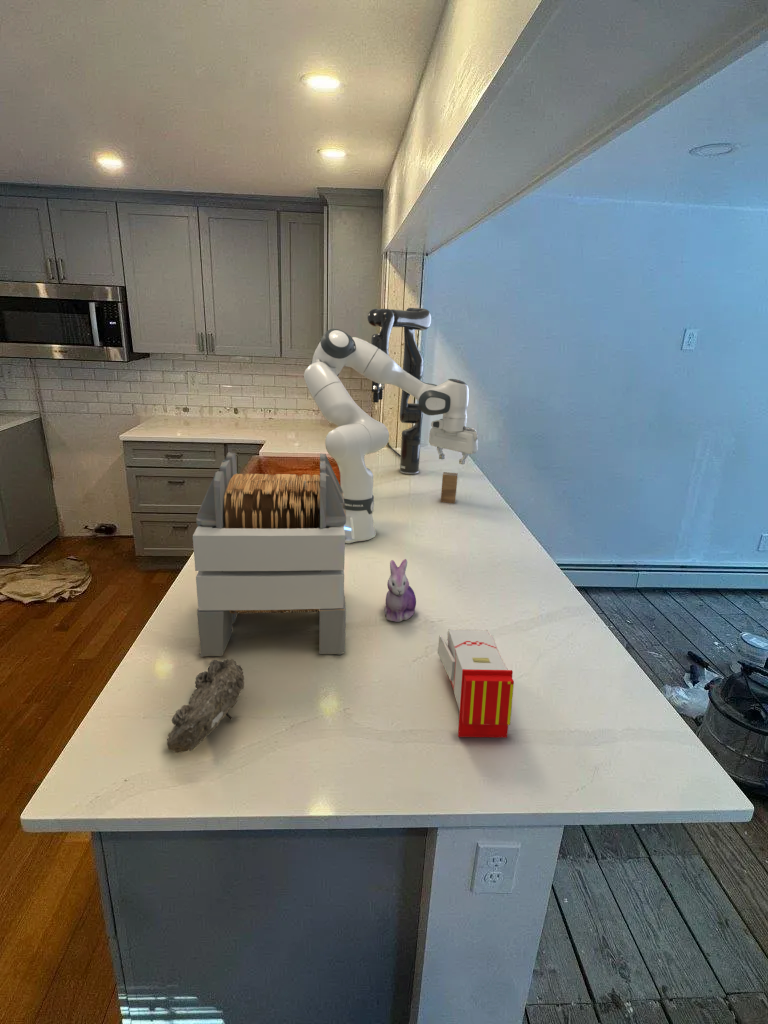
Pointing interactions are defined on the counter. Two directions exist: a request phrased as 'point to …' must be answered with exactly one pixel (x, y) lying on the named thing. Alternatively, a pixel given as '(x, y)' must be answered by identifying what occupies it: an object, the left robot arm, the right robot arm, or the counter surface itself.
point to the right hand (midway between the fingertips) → (377, 400)
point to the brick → (449, 487)
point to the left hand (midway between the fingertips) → (451, 461)
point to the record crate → (270, 552)
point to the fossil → (206, 705)
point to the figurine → (399, 594)
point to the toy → (478, 682)
